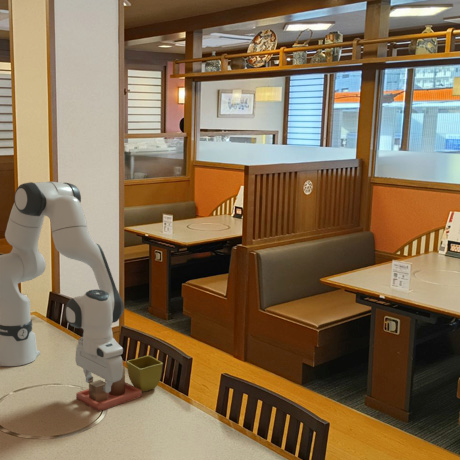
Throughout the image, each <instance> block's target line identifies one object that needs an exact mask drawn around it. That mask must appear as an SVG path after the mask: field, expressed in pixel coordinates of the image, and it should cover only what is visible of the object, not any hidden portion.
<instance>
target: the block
mask: <svg viewBox="0 0 460 460" xmlns="http://www.w3.org/2000/svg"><path fill="white" fill-rule="evenodd" d="M105 385H106V382H105V381H103V380H101V379H97V380H95V381H94V380H93V382H91V383H88V389H89V398H91V399H93V400H94V401H96V402H100V401H103V400H106V399H107V393H106V392H104V391H103V386H105Z"/></svg>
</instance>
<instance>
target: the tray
mask: <svg viewBox="0 0 460 460" xmlns="http://www.w3.org/2000/svg"><path fill="white" fill-rule="evenodd" d="M142 394H143V392H142V390H140V389H138V388H136V387H134V386H133V384H130V383H128V382H126V381H125V393H124V394H123V395H119V396H113V395H110V394H109V392H108V393H107V399H106V400H103V401H100V402H96V401H94V400H93V399H91V398H89V388H87V389H84V390H82V391H80V390H79V391H78V392H76V394H75V395H76V396H75V397H76V398H75V399H76V400H77V401H79V402H82V403H83V404H85V406H86V405H87V406H88V407H90V408H91V409H93V410H95V411H97V412H99V413H100V412H102V411H105V410H107V409H110V408H113V407H115V406H118V405H121V404H123V403H127V402H130V401H132V400H134V399H137V398H140V397H142Z"/></svg>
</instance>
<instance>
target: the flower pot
mask: <svg viewBox="0 0 460 460" xmlns="http://www.w3.org/2000/svg"><path fill="white" fill-rule="evenodd" d="M163 364H164V362H162V361H160V360H158V359H157V358H155V357H153V356H152V355H144V356H141V357H137V358H134V359H130V360H127V361H126V366H127V373H128V378H129V381H130V383H131V385H132V386H134V387H136V388H138V389H140V390H142V393H143V392H147V391H150V390H153V389H155V388H157V386H158V385H159V383H160V381H161V378H162V372H163V366H164V365H163Z"/></svg>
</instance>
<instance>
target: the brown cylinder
mask: <svg viewBox="0 0 460 460" xmlns="http://www.w3.org/2000/svg"><path fill="white" fill-rule="evenodd" d="M125 382H126V367H125V366H124V365H123V375H122V378H121V380H120V381H117V382H114V383H113V384H112V386H111V391H110V392H109V394H110V395H113V396H119V395H123V394H124V393H125Z"/></svg>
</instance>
